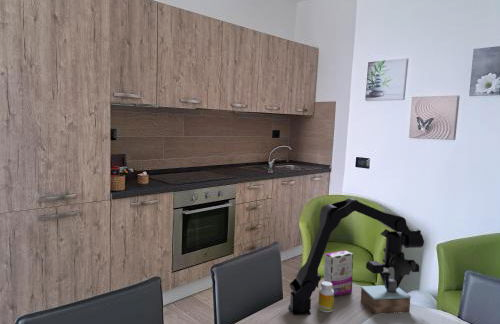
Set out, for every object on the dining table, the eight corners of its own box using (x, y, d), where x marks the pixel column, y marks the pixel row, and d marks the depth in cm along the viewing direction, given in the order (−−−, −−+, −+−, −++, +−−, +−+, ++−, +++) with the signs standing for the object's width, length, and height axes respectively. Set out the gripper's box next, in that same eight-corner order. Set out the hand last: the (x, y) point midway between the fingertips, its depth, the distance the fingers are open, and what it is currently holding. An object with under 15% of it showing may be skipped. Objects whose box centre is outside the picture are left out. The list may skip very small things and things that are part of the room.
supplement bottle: (333, 313, 125) (334, 287, 125) (318, 311, 126) (319, 285, 126) (333, 306, 131) (334, 281, 130) (318, 304, 132) (319, 279, 131)
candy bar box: (343, 288, 147) (345, 249, 146) (352, 292, 143) (354, 253, 141) (322, 292, 142) (324, 253, 141) (330, 297, 138) (332, 257, 136)
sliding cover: (374, 299, 125) (374, 287, 125) (360, 287, 135) (361, 276, 135) (410, 298, 127) (411, 285, 127) (395, 286, 137) (395, 274, 137)
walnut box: (373, 314, 126) (374, 300, 125) (360, 301, 135) (361, 288, 135) (409, 312, 128) (410, 298, 127) (394, 299, 138) (394, 287, 137)
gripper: (382, 256, 121) (379, 299, 122) (430, 254, 124) (428, 297, 125) (366, 246, 132) (364, 286, 133) (411, 244, 135) (409, 284, 136)
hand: (391, 288), depth 132 cm, fingers closed on sliding cover, 3 cm apart
